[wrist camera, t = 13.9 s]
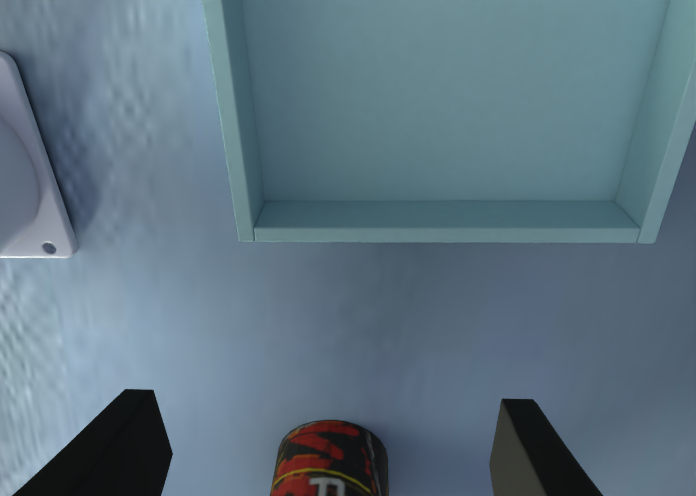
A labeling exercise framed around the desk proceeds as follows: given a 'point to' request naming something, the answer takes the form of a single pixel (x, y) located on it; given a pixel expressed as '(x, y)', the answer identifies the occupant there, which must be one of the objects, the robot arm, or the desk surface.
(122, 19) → the desk surface
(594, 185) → the baking pan
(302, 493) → the deodorant
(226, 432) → the desk surface
